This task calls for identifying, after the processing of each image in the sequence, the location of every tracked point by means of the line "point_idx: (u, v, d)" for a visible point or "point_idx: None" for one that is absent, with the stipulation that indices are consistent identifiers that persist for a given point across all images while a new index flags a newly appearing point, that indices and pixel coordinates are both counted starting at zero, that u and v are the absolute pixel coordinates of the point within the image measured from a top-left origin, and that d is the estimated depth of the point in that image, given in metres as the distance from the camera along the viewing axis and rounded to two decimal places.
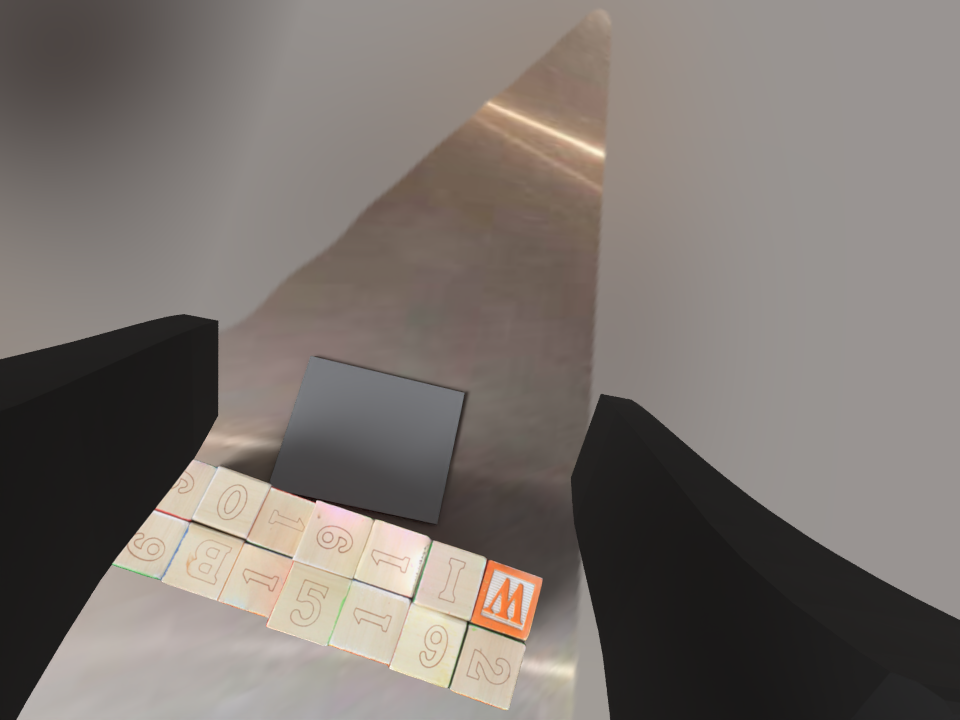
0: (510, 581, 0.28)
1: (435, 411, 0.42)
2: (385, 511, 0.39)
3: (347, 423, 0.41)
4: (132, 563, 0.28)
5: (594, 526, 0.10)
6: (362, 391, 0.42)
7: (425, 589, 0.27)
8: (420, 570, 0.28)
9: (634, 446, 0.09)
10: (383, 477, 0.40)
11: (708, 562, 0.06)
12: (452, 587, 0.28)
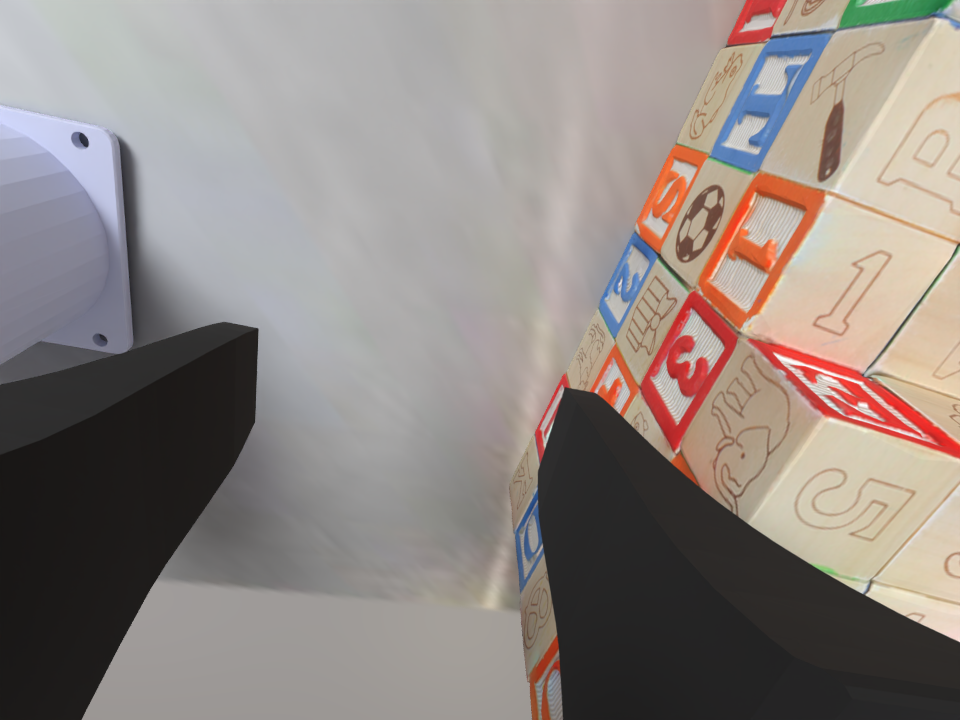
0: None
1: None
2: None
3: None
4: None
5: (555, 519, 0.10)
6: None
7: None
8: None
9: (591, 438, 0.08)
10: None
11: (648, 552, 0.06)
12: None
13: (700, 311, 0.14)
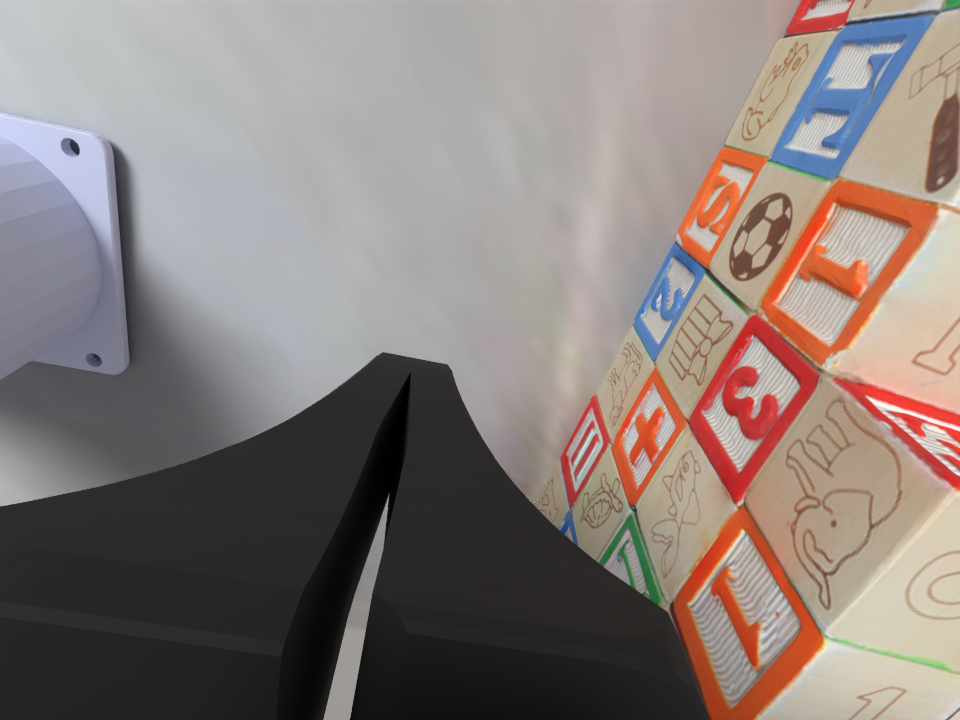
0: None
1: None
2: None
3: None
4: None
5: (392, 492, 0.09)
6: None
7: None
8: None
9: (408, 404, 0.08)
10: None
11: None
12: None
13: (765, 339, 0.12)
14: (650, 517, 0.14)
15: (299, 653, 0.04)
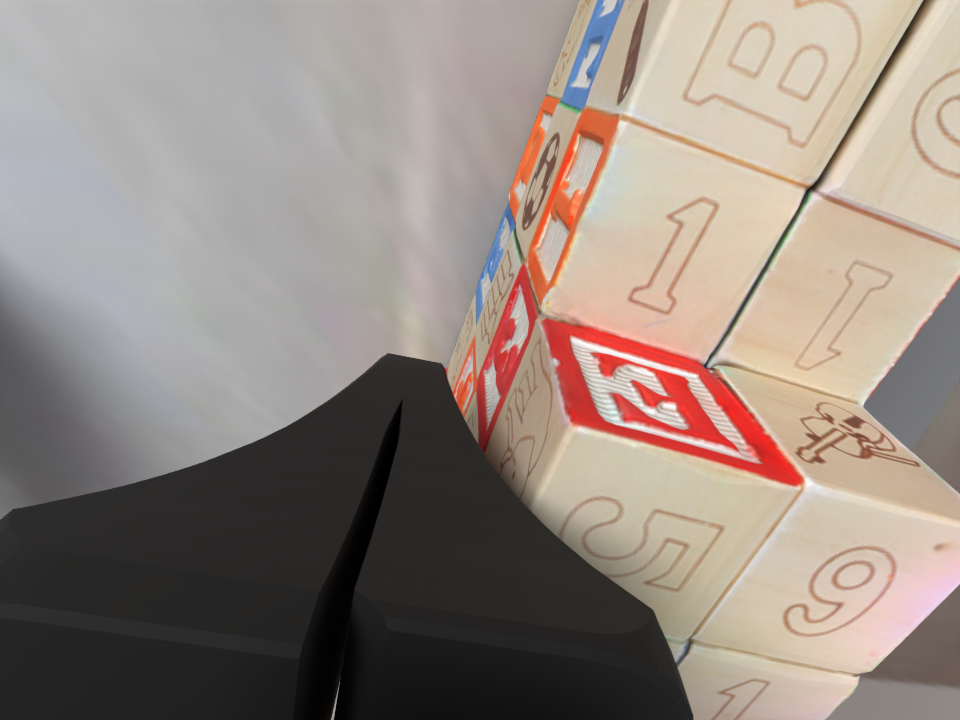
0: None
1: None
2: None
3: None
4: None
5: None
6: (938, 329, 0.19)
7: None
8: None
9: (401, 403, 0.08)
10: None
11: None
12: None
13: (522, 287, 0.11)
14: None
15: (313, 655, 0.04)
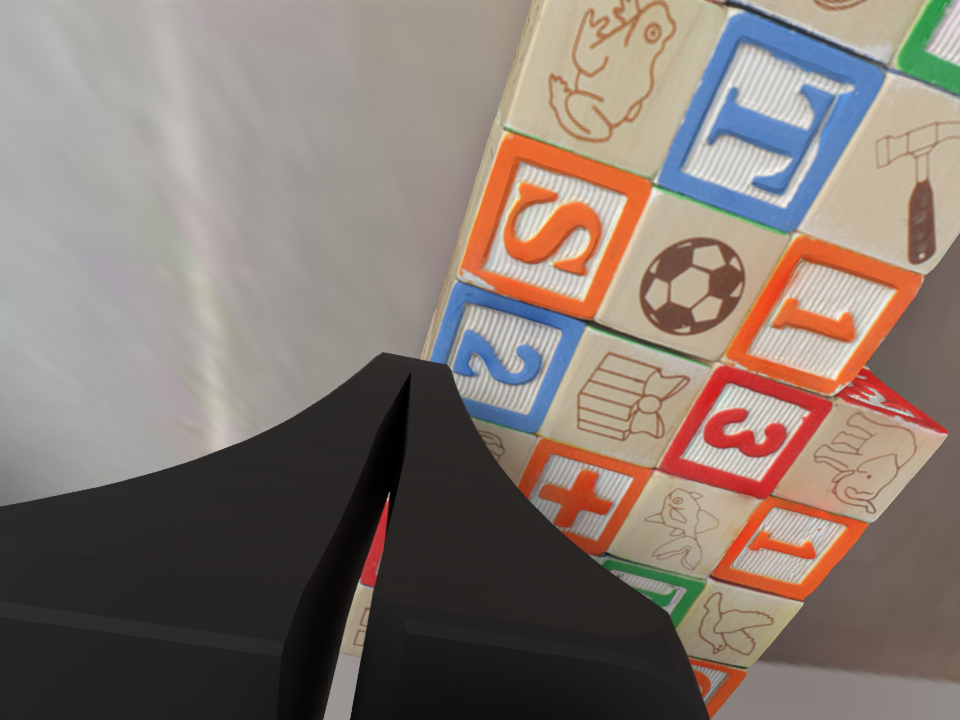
0: None
1: None
2: None
3: None
4: None
5: (392, 492, 0.09)
6: None
7: None
8: None
9: (408, 405, 0.08)
10: None
11: None
12: None
13: (752, 385, 0.12)
14: (642, 549, 0.15)
15: (299, 653, 0.04)
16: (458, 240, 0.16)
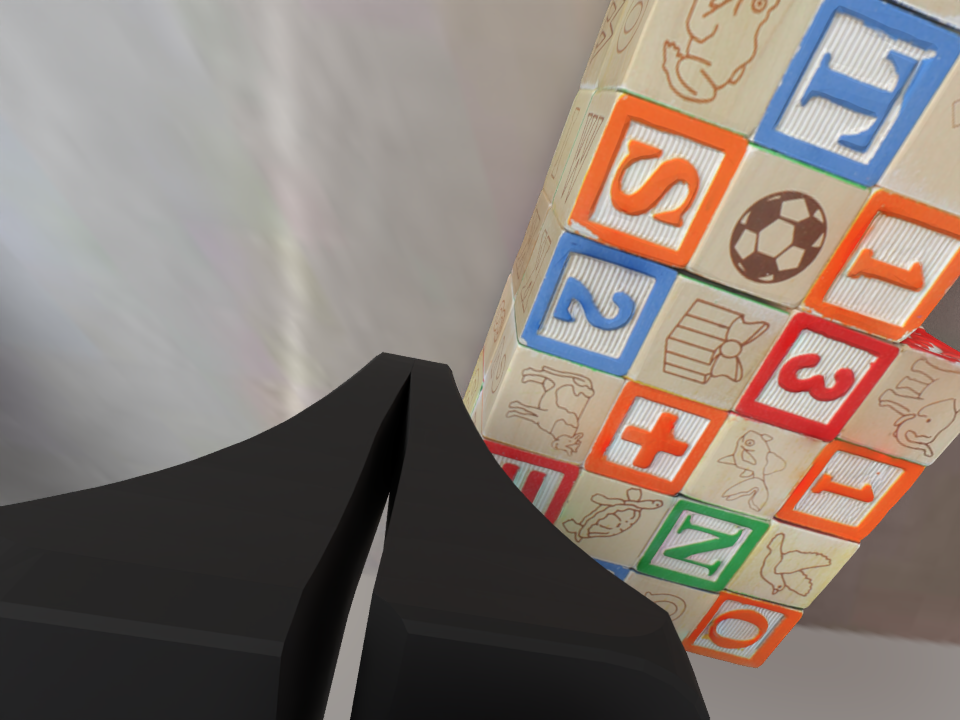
0: None
1: None
2: None
3: None
4: None
5: (392, 491, 0.09)
6: None
7: None
8: None
9: (408, 404, 0.08)
10: None
11: None
12: None
13: (826, 331, 0.14)
14: (714, 490, 0.16)
15: (299, 652, 0.04)
16: (541, 206, 0.17)
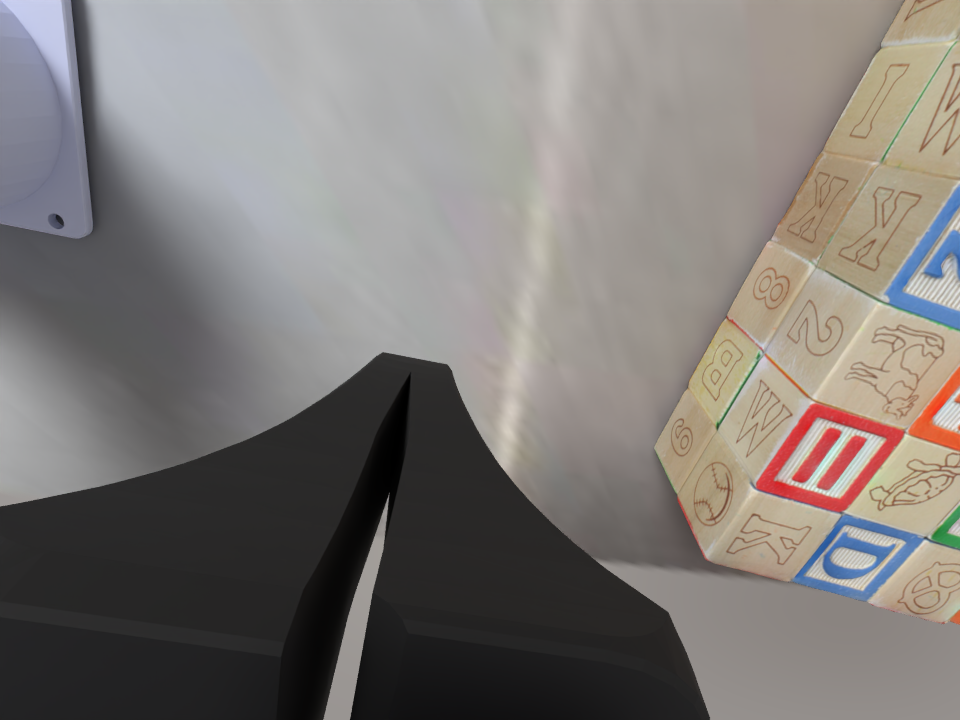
0: None
1: None
2: None
3: None
4: None
5: (392, 492, 0.09)
6: None
7: None
8: None
9: (408, 405, 0.08)
10: None
11: None
12: None
13: None
14: None
15: (299, 653, 0.04)
16: (838, 167, 0.17)
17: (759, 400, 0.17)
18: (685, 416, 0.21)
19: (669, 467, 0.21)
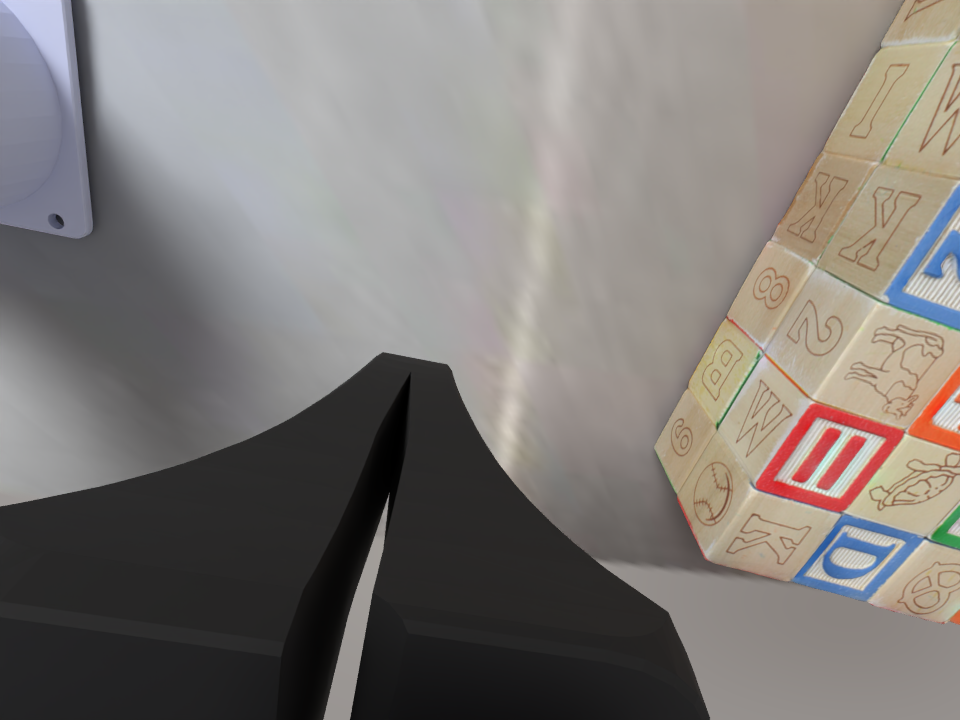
0: None
1: None
2: None
3: None
4: None
5: (392, 492, 0.09)
6: None
7: None
8: None
9: (408, 405, 0.08)
10: None
11: None
12: None
13: None
14: None
15: (299, 653, 0.04)
16: (838, 167, 0.17)
17: (759, 400, 0.17)
18: (684, 416, 0.21)
19: (669, 467, 0.21)
